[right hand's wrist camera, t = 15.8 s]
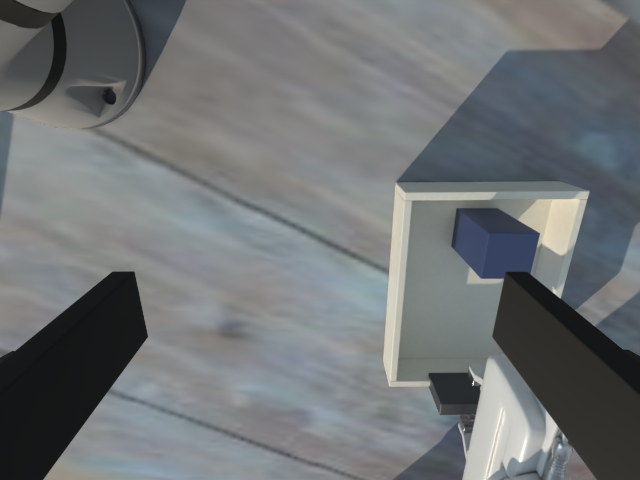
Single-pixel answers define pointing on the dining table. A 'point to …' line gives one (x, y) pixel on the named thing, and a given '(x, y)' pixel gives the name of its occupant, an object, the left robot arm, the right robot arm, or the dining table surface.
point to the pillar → (493, 242)
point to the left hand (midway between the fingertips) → (470, 394)
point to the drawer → (462, 279)
